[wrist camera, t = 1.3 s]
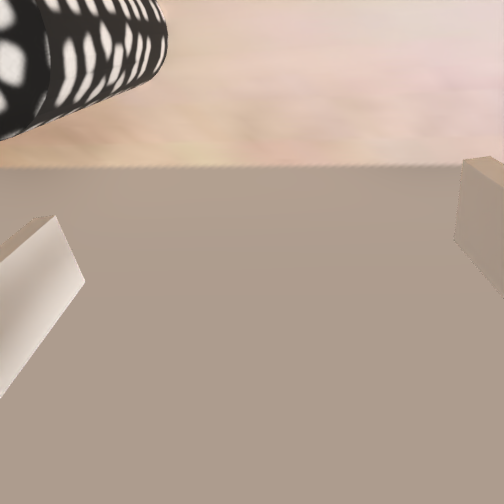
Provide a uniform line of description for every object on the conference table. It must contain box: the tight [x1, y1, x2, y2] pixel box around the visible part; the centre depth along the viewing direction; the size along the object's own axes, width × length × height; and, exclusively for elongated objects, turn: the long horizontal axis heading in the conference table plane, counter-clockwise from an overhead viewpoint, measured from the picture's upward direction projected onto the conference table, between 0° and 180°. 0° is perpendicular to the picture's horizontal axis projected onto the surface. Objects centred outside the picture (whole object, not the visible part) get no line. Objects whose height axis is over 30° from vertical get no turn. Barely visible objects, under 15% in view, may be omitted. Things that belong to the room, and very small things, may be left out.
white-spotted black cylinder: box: [0, 0, 168, 141], centre depth 23 cm, size 8×8×20 cm
